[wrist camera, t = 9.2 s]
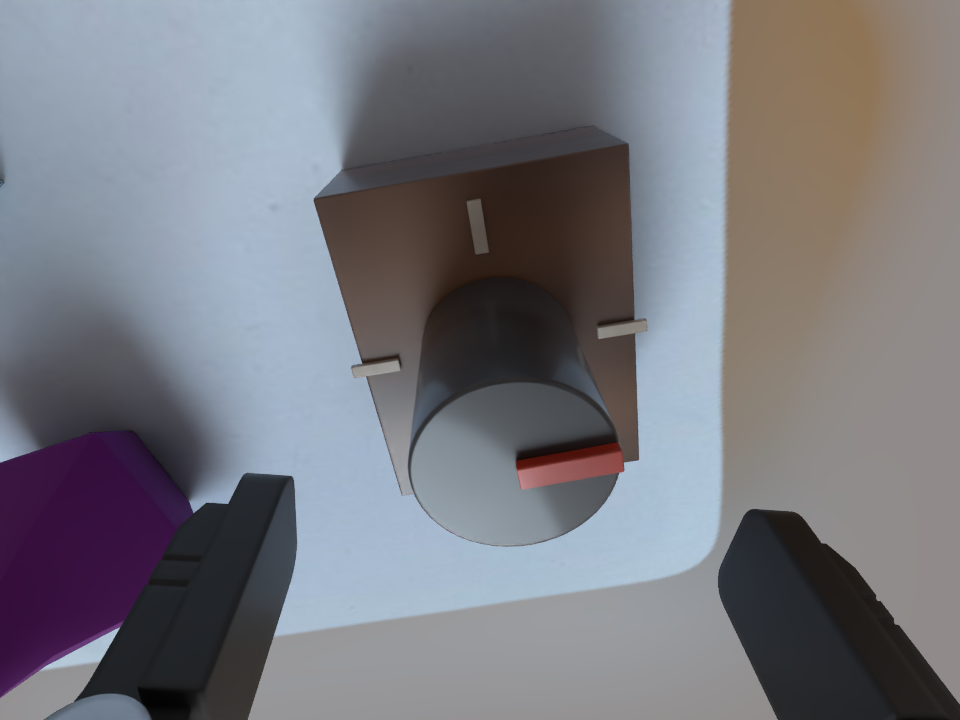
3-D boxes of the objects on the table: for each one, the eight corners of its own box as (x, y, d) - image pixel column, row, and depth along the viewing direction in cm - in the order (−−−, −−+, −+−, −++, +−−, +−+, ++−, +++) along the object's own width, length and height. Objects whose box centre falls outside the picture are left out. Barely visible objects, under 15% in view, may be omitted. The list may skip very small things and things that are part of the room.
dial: (441, 422, 18) (434, 573, 12) (404, 293, 16) (379, 411, 10) (581, 396, 17) (633, 539, 12) (563, 261, 15) (617, 366, 10)
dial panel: (331, 171, 18) (298, 202, 14) (604, 123, 17) (643, 141, 14) (402, 428, 23) (392, 501, 19) (618, 394, 22) (649, 462, 19)
